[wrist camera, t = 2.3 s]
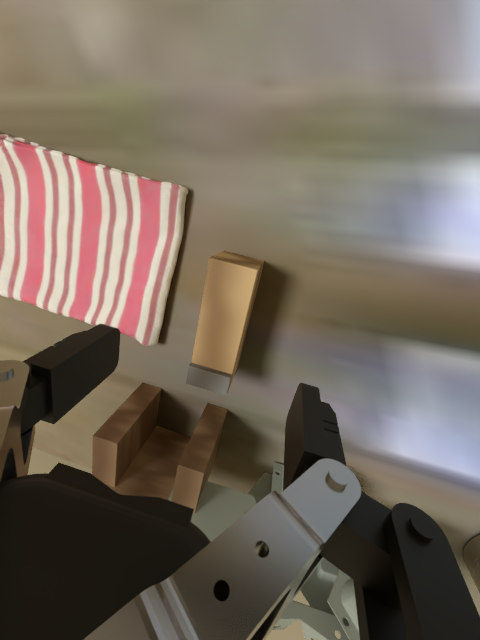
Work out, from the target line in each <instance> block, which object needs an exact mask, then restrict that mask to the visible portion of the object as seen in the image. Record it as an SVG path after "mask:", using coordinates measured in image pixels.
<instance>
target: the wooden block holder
mask: <svg viewBox="0 0 480 640" xmlns="http://www.w3.org/2000/svg"><path fill="white" fill-rule="evenodd" d="M160 395H161V388H158V387H154V386H151V385H148V384H145V383H142V384H141V385H140V386H139V387H138V388H137V389H136V390H135V391H134V392H133V393H132V394H131V396H130V397H129V398H128V399H127V400H126V401H125V402H124V403H123V404H122V405H121V406H120V407H119V408H118V409H117V410H116V411H115V413H114V414H113V415H112V416H111V417H110V418H109V419H108V420H107V421H106V422H105V423H104V424H103V425H102V426H101V427H100V429H99V430H98V431H97V432H96V433H95V434H94V435H93V466H92V473H93V474H92V475H93V476H95V477H96V478H97V479H99V480H100V481H102V482H103V483H104V484H106V485H107V486H108V487H110V488H111V489H112V490H114V491H115V492H116V493H118V494H121V495H133V496H148V497H160V498H163V499H166V500H168V499H169V497H170V494H171V492H172V490H173V495H172V500H171V501H172V502H175V503H178V504H181V505H184V506H186V507H189V508H192V509H194V511H193V513H194V514H195V511H196V508H197V505H198V502H199V500H200V497H201V494H202V491H203V488H204V485H205V482H206V481H208V478H209V475H210V472H211V469H212V466H213V463H214V460H215V458H216V454H217V450H218V446H219V442H220V438H221V434H222V430H223V426H224V421H225V417H226V413H227V409H224V408H221V407H218V406H215V405H212V404H207V406H206V408H205V410H204V412H203V414H202V416H201V418H200V420H199V422H198V424H197V426H196V428H195V430H194V432H193V434H192V437H189V436H186V435H183V434H180V433H177V432H174V431H171V430H168V429H165V428H162V427H159V426H157V418H158V411H159V403H160ZM173 488H174V489H173Z"/></svg>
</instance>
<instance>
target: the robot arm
mask: <svg viewBox="0 0 480 640" xmlns="http://www.w3.org/2000/svg"><path fill="white" fill-rule="evenodd" d="M119 345H120V330H119V329H118V328H115V327H112V326H108V325H105V324H98V325H97V326H95V327H93V328H91V329H90V330H88V331H83V332H79V333H75V334H72V335H70V336H68V337H67V338H65V339H63V340H62V341H59V342H57V343H56V344H54V345H53V346H50V347H48V348H47V349H45V350H43V351H41V352H39V353H37V354H36V355H34V356H32V357H30V358H28V359H27V360H25V361H23V362H21V361H16V360H4V361H0V640H265V639H266V638H267V636H268V635H269V633H270V632H271V630H272V629H273V628H274V626H275V625H276V623H277V622H278V620H279V619H280V617H281V616H282V614H283V613H284V611H285V610H286V608H287V607H288V606H289V604H290V603H291V601H292V600H293V598H294V597H295V596H296V594H297V593H298V592H299V590H300V589H301V588H302V586H303V585H304V584H305V582H306V581H307V580H308V578H309V577H310V576H311V574H312V573H313V571H314V570H315V569H316V567H317V566H318V565H319V563H320V562H321V561H322V559H323V558H325V559H326V560H327V561H329V562H330V563H332V564H333V565H334V566H336V567H337V568H338V569H340V570H341V571H342V572H344V573H345V574H346V575H348V576H349V577H350V578H352V579H353V582H354V590H355V599H356V608H357V617H358V626H359V635H360V640H480V616H479V614H478V612H477V609H476V607H475V604H474V602H473V600H472V597H471V595H470V593H469V590H468V588H467V585H466V583H465V581H464V578H463V576H462V573H461V571H460V569H459V566H458V564H457V561H456V559H455V557H454V554H453V552H452V549H451V547H450V545H449V542H448V540H447V538H446V536H445V534H444V533H443V531H442V530H441V528H440V527H439V526H438V524H437V523H436V522H435V521H434V520H433V519H432V518H431V517H430V516H428V515H427V514H426V513H425V512H423V511H422V510H420V509H419V508H417V507H415V506H413V505H410V504H407V503H399V504H396V505H395V506H394V507H393V509H392V510H390V509H389V508H387V507H385V506H384V505H382V504H381V503H379V502H377V501H376V500H374V499H372V498H371V497H369V496H368V495H366V494H365V493H364V492H363V491H362V490H361V486H360V483H359V481H358V479H357V477H356V476H355V475H354V473H353V472H352V471H351V470H350V469H349V468H348V467H346V462H345V457H344V452H343V448H342V443H341V438H340V435H339V428H338V426H337V425H338V423H337V418H336V414H335V412H334V411H333V409H332V408H331V406H330V405H329V404H328V403H324V402H321V401H320V393H319V388H317V387H314V386H310V385H307V384H304V383H300V384H299V386H298V388H297V391H296V393H295V396H294V399H293V402H292V404H291V407H290V410H289V412H288V416H287V420H286V428H285V453H284V477H283V492H282V493H280V494H278V493H277V492H276V491H273V492H271V493H269V494H268V495H267V496H265V497H264V498H263V499H262V500H261V501H259V502H258V503H257V504H256V505H255V506H253V507H252V508H251V509H250V510H249V511H248V512H246V513H245V514H244V515H243V516H242V517H240V518H239V519H238V520H237V521H236V522H234V523H233V524H232V525H231V526H230V527H228V528H227V529H226V530H225V531H224V532H222V533H221V534H220V535H219V536H218V537H216V538H215V539H214V540H213V541H212V542H211V541H210V540H209V539H208V537H207V536H206V535H205V534H204V533H203V532H202V531H201V530H200V529H199V528H198V527H197V526H196V525H194V524H193V523H192V522H191V519H192V515H193V511H194V509H192V508H189V507H186V506H184V505H181V504H178V503H175V502H172V501H169V500H166V499H163V498H160V497H148V496H133V495H121V494H118V493H116V492H115V491H114V490H112V489H111V488H110V487H108V486H107V485H106V484H104V483H103V482H102V481H100V480H99V479H97V478H96V477H95V476H93V475H92V474H90V473H88V472H85V471H82V470H79V469H76V468H73V467H70V466H67V465H64V464H61V463H58V464H57V465H56V466H55V467H54V468H53V469H52V471H51V472H50V473H49V474H33V475H27V474H28V468H29V462H30V456H31V451H32V446H33V440H34V435H35V424H36V423H37V422H39V421H40V420H43V421H46V422H49V423H52V424H55V423H56V422H57V421H58V420H59V419H60V418H61V417H63V416H64V415H65V414H66V413H67V412H68V411H69V410H71V409H72V408H73V407H74V406H75V405H76V404H77V403H78V402H80V401H81V400H82V399H83V398H84V397H85V396H86V395H88V394H89V393H90V392H91V391H92V390H93V389H94V388H95V387H97V386H98V385H99V384H100V383H101V382H102V381H103V380H105V379H106V378H107V377H108V376H109V375H110V374H111V373H112V372H113V371H114V370H115V368H116V366H117V364H118V360H119ZM463 559H464V561H465V563H466V565H467V567H468V570H469V572H470V574H471V576H472V578H473V580H474V582H475V584H476V586H477V588H478V591H479V593H480V534H479V535H478V536H476V537H474V538H472V539H471V540H470V541H469V542H468V543H467V544H466V546H465V548H464V551H463Z"/></svg>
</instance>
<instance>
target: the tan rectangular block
mask: <svg viewBox="0 0 480 640" xmlns="http://www.w3.org/2000/svg"><path fill="white" fill-rule="evenodd" d="M263 265H264V261H262V260H258V259H254V258H250V257H246V256H242V255H238V254H234V253H230V252H227V251H223V252H221V253H219V254H217V255H214V256H212V257H210V259H209V264H208V270H207V276H206V282H205V287H204V293H203V299H202V305H201V310H200V316H199V322H198V328H197V334H196V339H195V345H194V351H193V357H192V362H191V364H190V365H189V370H188V375H187V381H186V383H187V384H190V385H194V386H197V387H200V388H203V389H206V390H210V391H213V392H216V393H219V394H222V395H227V393H228V390H229V388H230V385H231V383H232V380H233V378H234V376H235V373H236V371H237V368H238V365H239V361H240V357H241V353H242V349H243V345H244V341H245V337H246V333H247V329H248V325H249V321H250V317H251V313H252V309H253V305H254V301H255V297H256V293H257V289H258V285H259V281H260V277H261V273H262V269H263Z"/></svg>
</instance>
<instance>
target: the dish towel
mask: <svg viewBox="0 0 480 640" xmlns="http://www.w3.org/2000/svg"><path fill="white" fill-rule="evenodd" d="M187 194H188V190H187V188H185V187H183V186H181V185H175V184H173V183H170V182H157V181H154V180H151V179H149V178H146V177H143V176H138V175H136V174H133V173H129V172H123V171H120V170H118V169H114V168H109V167H106V166H104V165H101V164H93V163H90V162H86V161H83V160H80V159H78V158H77V157H74V156H72V155H71V156H69V155H66V154H64V153H62V152H61V151H55V150H49V149H47V148H45V147H39V145H38V144H36V143H35V144H34V143H33V142H31V143H28V142H27V141H26V140H25V139H23V138H17V137H16V138H13V137H11V136H9V135H6V134H4V135H2V134H0V295H2V296H5V297H9V298H13V299H16V300H19V301H24V302H28V303H31V304H33V305H36V306H38V307H39V308H42V309H45V310H48V311H50V312H53V313H56V314H62V315H64V316H67V317H72V318H76V319H79V320H82V321H84V322H86V323H89V324H93V325H96V326H97V325H98V324H105V325H108V326H112V327H115V328H118V329H119V330H120V333H123V334H126V335H128V336H131V337H133V338H135V339H137V340H138V341H139V342H140V343H141V344H143V345H145V346H150V345H153V346H155V345H157V343H158V339H159V334H160V330H161V328H162V324H163V318H164V312H165V307H166V301H167V297H168V293H169V289H170V285H171V280H172V276H173V273H174V269H175V266H176V262H177V257H178V252H179V248H180V244H181V241H182V236H183V228H184V216H185V202H186V195H187Z"/></svg>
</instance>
